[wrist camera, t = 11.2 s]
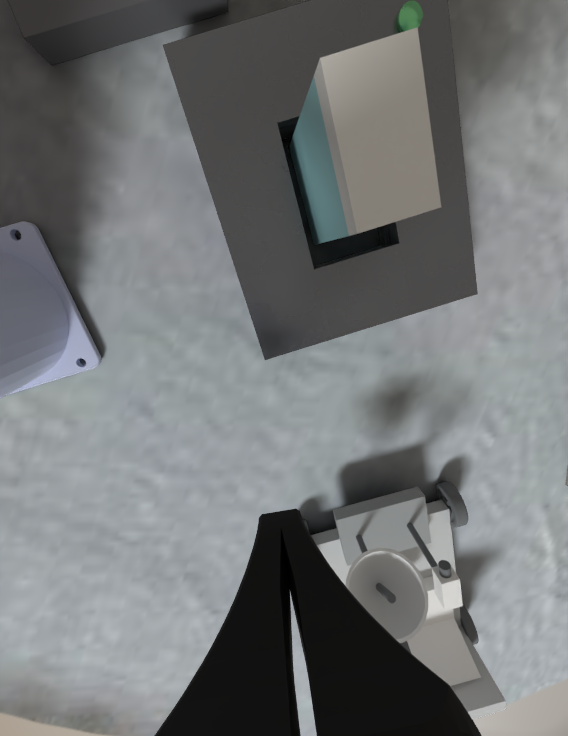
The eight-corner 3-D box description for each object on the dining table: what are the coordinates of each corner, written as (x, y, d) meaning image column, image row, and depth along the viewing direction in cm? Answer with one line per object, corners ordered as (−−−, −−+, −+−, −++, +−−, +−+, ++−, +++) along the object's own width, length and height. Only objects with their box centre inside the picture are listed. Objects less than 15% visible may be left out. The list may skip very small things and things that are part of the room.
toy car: (306, 624, 15) (557, 554, 15) (284, 484, 24) (439, 442, 24) (370, 827, 20) (552, 774, 21) (332, 650, 30) (458, 615, 30)
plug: (314, 245, 19) (357, 234, 11) (289, 146, 17) (319, 58, 10) (364, 229, 19) (441, 207, 11) (344, 129, 17) (417, 27, 10)
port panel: (263, 348, 20) (265, 361, 18) (175, 76, 16) (160, 40, 13) (451, 290, 21) (481, 294, 18) (414, 4, 16) (447, -47, 14)
